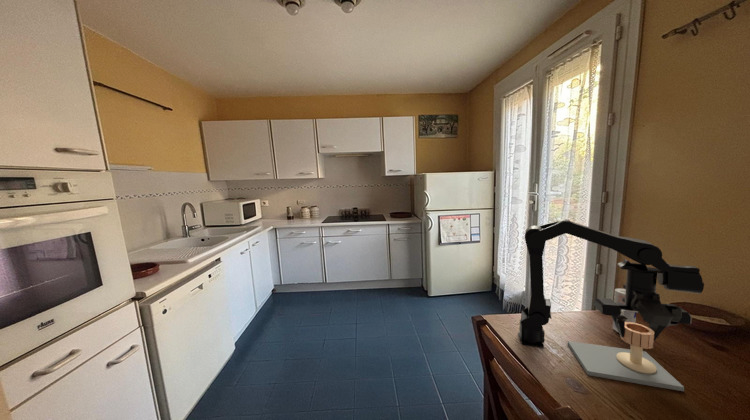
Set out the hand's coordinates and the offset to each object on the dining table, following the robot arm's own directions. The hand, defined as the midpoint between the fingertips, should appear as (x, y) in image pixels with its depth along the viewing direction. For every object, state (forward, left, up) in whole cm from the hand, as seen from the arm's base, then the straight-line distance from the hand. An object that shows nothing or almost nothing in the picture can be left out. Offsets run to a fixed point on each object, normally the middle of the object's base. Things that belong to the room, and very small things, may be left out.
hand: (636, 338), depth 71 cm
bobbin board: (-4, 0, -9) cm, 10 cm away
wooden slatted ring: (0, 0, -1) cm, 1 cm away
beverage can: (+7, +20, -9) cm, 23 cm away
